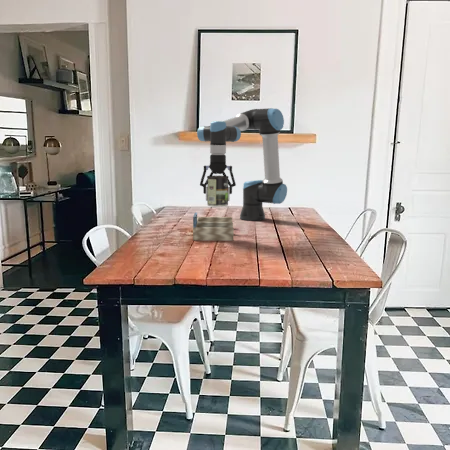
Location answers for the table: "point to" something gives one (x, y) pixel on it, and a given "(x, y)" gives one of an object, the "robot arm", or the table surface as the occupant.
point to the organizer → (212, 228)
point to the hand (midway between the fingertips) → (217, 200)
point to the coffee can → (217, 191)
